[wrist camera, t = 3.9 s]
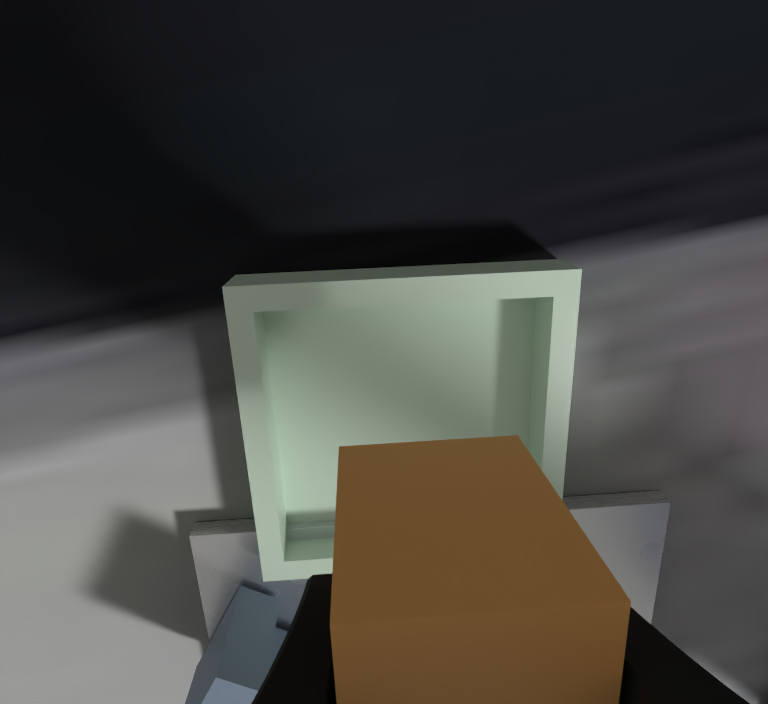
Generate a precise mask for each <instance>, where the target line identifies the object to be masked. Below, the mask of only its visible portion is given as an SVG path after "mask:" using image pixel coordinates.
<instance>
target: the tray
mask: <svg viewBox="0 0 768 704" xmlns="http://www.w3.org/2000/svg"><path fill="white" fill-rule="evenodd" d="M581 275H582V269H581V268H578V267H576V266H574V265H571V264H569V263H566V262H564V261H561V260H559V259H550V260H530V261H509V262H489V263H468V264H447V265H427V266H406V267H386V268H365V269H344V270H324V271H303V272H283V273H262V274H241V275H235V276H234V277H233V278H231V279H230V280H229V281H228V282H227V283H226V284H225V285H223V286H222V290H223V298H224V305H225V312H226V319H227V326H228V333H229V340H230V347H231V355H232V362H233V369H234V376H235V383H236V390H237V397H238V405H239V412H240V419H241V426H242V433H243V440H244V447H245V455H246V462H247V469H248V476H249V483H250V490H251V497H252V504H253V512H254V519H255V526H256V533H257V540H258V547H259V554H260V562H261V569H262V576H263V582H267V581H280V580H294V579H307V578H310V577H311V576H312V575H318V574H331V573H332V571H333V552H334V538H321V539H307V540H293V541H287V533H286V527H287V523H290V522H305V521H319V520H334V519H335V512H336V493H337V473H338V453H339V446H353V445H369V444H385V443H400V442H416V441H432V440H448V439H464V438H480V437H496V436H511V435H518V436H519V438H520V439H521V441H522V442H523V444H524V445H525V447H526V448H527V449H528V451H529V452H530V454H531V455H532V457H533V458H534V460H535V461H536V463H537V464H538V466H539V467H540V469H541V470H542V471H543V473H544V474H545V476H546V477H547V479H548V480H549V482H550V483H551V485H552V486H553V488H554V489H555V491H556V492H557V493H558V495H559V496H560V498H561V499H562V500H563V488H564V476H565V465H566V453H567V441H568V429H569V417H570V405H571V393H572V381H573V370H574V358H575V346H576V334H577V322H578V310H579V298H580V286H581Z"/></svg>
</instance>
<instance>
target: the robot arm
mask: <svg viewBox="0 0 768 704" xmlns="http://www.w3.org/2000/svg"><path fill="white" fill-rule="evenodd" d="M331 591H332V573H331V574H318V575H312V576H311V577H310V578H309V579H308V580H307V582H306V586H305V589H304V592H303V595H302V598H301V601H300V603H299V606H298V608H297V611H296V613H295V616H294V618H293V621H292V623H291V625H290V628H289V630H288V632H287V634H286V637H285V639H284V641H283V643H282V645H281V647H280V649H279V651H278V653H277V655H276V657H275V660H274V662H273V664H272V666H271V668H270V670H269V672H268V674H267V676H266V678H265V680H264V681H263V683H262V685H261V687H260V689H259V691H258V692H257V694H256V696H255V698H254V700H253V701H252V703H251V704H337V702H336V690H335V679H334V667H333V656H332V645H331V633H330V611H331ZM619 704H750V703H748V702H747V701H745V700H744V699H743V698H741V697H740V696H739V695H737V694H736V693H735V692H733V691H732V690H731V689H729V688H728V687H727V686H725V685H724V684H723V683H722V682H720V681H719V680H718V679H717V678H715V677H714V676H713V675H711V674H710V673H709V672H708V671H706V670H705V669H704V668H703V667H701V666H700V665H699V664H698V663H696V662H695V661H694V660H692V659H691V658H690V657H689V656H688V655H686V654H685V653H684V652H683V651H681V650H680V649H679V648H678V647H677V646H675V645H674V644H673V643H672V642H671V641H670V640H668V639H667V638H666V637H665V636H664V635H663V634H661V633H660V632H659V631H658V630H657V629H656V628H654V627H653V626H652V625H651V624H650V623H649V622H648V621H646V620H645V619H644V618H643V617H642V616H641V615H640V614H638V613H637V612H636V611H635V610H634V609H633V608H632V607H631V606H630V615H629V623H628V631H627V640H626V648H625V656H624V664H623V673H622V681H621V689H620V698H619Z"/></svg>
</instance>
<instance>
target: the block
mask: <svg viewBox="0 0 768 704" xmlns="http://www.w3.org/2000/svg"><path fill="white" fill-rule="evenodd" d="M630 606H631V600H630V599H629V598H628V596H627V595H626V593H625V592H624V590H623V589H622V587H621V586H620V584H619V583H618V581H617V580H616V579H615V577H614V576H613V574H612V573H611V571H610V570H609V568H608V567H607V565H606V564H605V562H604V561H603V559H602V558H601V557H600V555H599V554H598V552H597V551H596V549H595V548H594V546H593V545H592V543H591V542H590V540H589V539H588V537H587V536H586V535H585V533H584V532H583V530H582V529H581V527H580V526H579V524H578V523H577V521H576V520H575V518H574V517H573V515H572V514H571V513H570V511H569V510H568V508H567V507H566V505H565V504H564V502H563V501H562V499H561V498H560V496H559V495H558V493H557V492H556V491H555V489H554V488H553V486H552V485H551V483H550V482H549V480H548V479H547V477H546V476H545V474H544V473H543V471H542V470H541V469H540V467H539V466H538V464H537V463H536V461H535V460H534V458H533V457H532V455H531V454H530V452H529V451H528V449H527V448H526V447H525V445H524V444H523V442H522V441H521V439H520V438H519V436H518V435H511V436H496V437H480V438H464V439H448V440H432V441H416V442H400V443H385V444H369V445H353V446H339V453H338V473H337V493H336V512H335V532H334V552H333V571H332V591H331V611H330V633H331V645H332V656H333V667H334V679H335V690H336V702H337V704H619V698H620V689H621V681H622V673H623V664H624V656H625V648H626V640H627V631H628V623H629V615H630Z"/></svg>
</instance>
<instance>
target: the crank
mask: <svg viewBox="0 0 768 704" xmlns="http://www.w3.org/2000/svg"><path fill="white" fill-rule="evenodd" d="M279 602H280V599H277V598H274V597H271V596H269V595H266V594H263V593H260V592H257V591H255V590H252V589H249V588H246V587H243V586H240V587H239V589H238V591H237V593H236V595H235V597H234V599H233V600H232V602H231V604H230V606H229V608H228V610H227V612H226V613H225V615H224V617H223V619H222V621H221V623H220V624H219V626H218V628H217V630H216V632H215V634H214V636H213V637H212V639H211V641H210V643H209V645H208V647H207V649H206V650H205V652H204V654H203V656H202V658H201V660H200V662H199V663H198V665H197V667H196V671H195V674H194V677H193V680H192V683H191V687H190V690H189V693H188V696H187V699H186V703H185V704H251V703H252V701H253V700H254V698H255V696H256V694H257V692H258V691H259V689H260V687H261V685H262V683H263V681H264V680H265V678H266V676H267V674H268V672H269V670H270V668H271V666H272V664H273V662H274V660H275V657H276V655H277V653H278V651H279V649H280V647H281V645H282V643H283V641H284V639H285V637H286V634H287V632H288V631H285V630H282V629H279V628H277V627H275V626H276V620H277V614H278V608H279Z"/></svg>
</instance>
